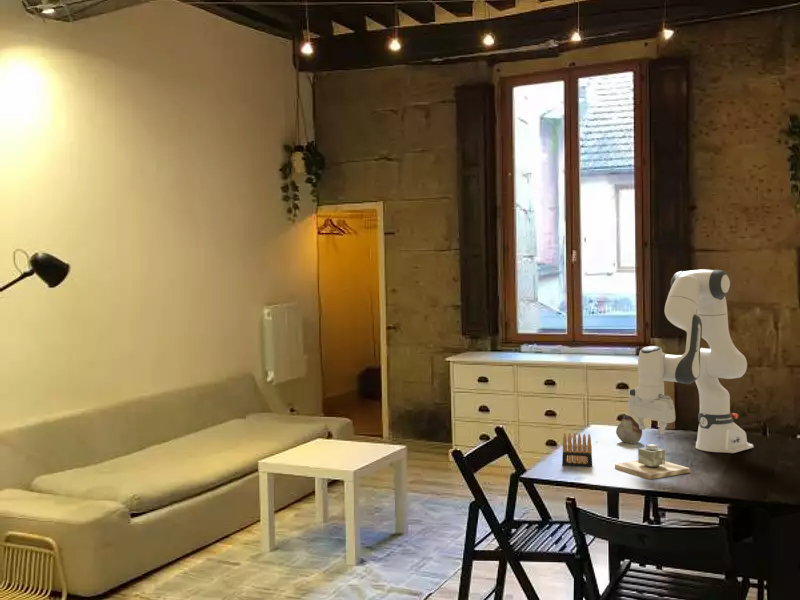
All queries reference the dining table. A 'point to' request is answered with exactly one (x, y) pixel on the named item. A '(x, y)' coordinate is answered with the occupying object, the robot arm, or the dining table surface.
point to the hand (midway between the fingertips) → (651, 431)
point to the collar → (651, 457)
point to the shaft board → (652, 468)
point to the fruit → (629, 430)
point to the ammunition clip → (577, 452)
